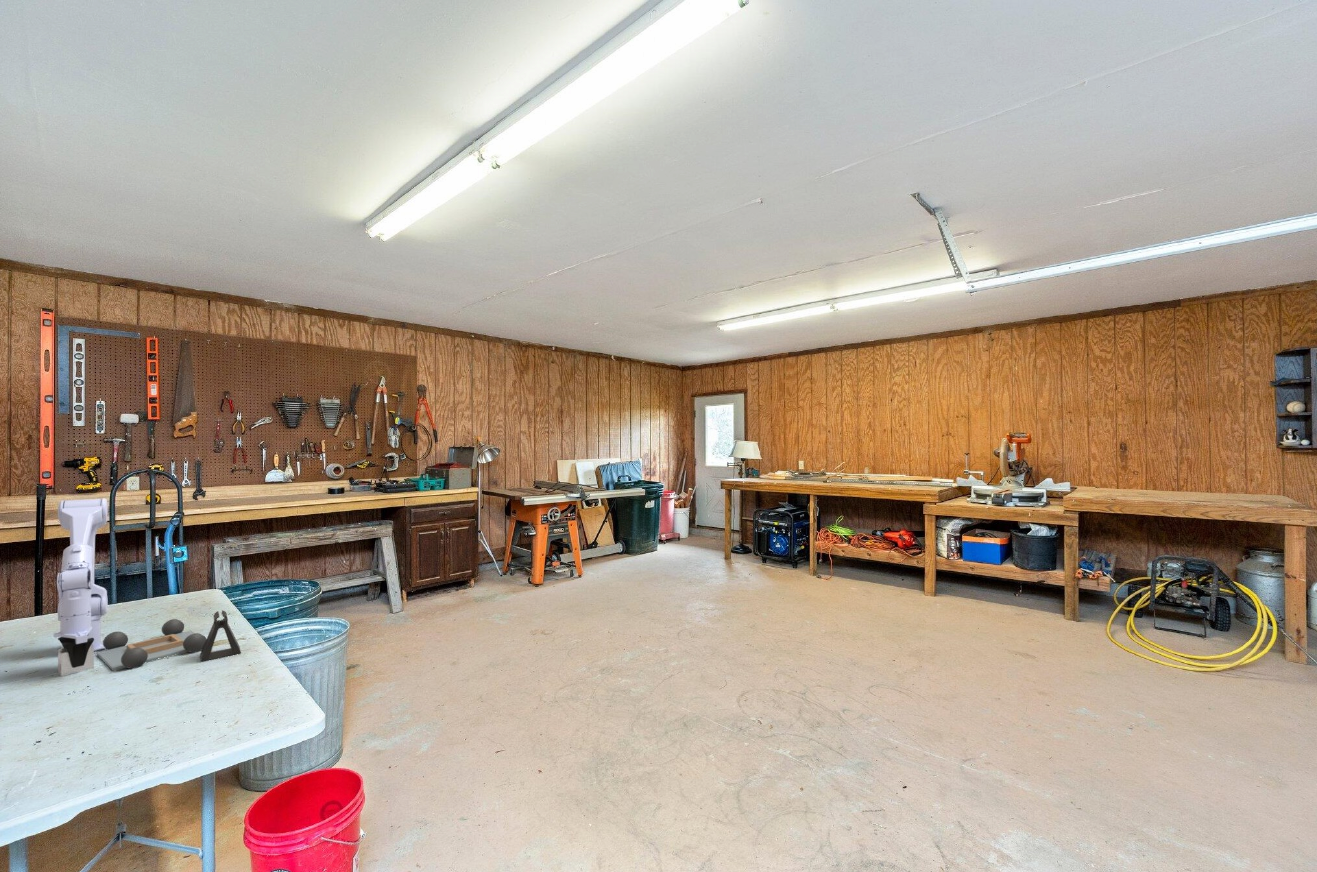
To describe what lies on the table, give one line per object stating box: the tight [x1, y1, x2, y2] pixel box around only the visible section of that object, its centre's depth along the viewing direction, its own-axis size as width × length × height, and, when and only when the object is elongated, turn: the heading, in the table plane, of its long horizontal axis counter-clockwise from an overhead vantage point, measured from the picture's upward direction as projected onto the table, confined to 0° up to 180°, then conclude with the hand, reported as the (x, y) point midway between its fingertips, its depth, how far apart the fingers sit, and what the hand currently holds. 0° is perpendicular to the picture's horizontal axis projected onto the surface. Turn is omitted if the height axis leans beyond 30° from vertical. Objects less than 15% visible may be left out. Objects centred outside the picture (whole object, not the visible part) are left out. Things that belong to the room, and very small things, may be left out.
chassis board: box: [96, 618, 207, 672], centre depth 160 cm, size 22×21×5 cm
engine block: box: [57, 644, 95, 677], centre depth 147 cm, size 4×6×6 cm
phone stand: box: [199, 610, 242, 663], centre depth 157 cm, size 9×6×12 cm, turn 130°
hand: (76, 663), depth 147 cm, fingers closed on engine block, 4 cm apart
